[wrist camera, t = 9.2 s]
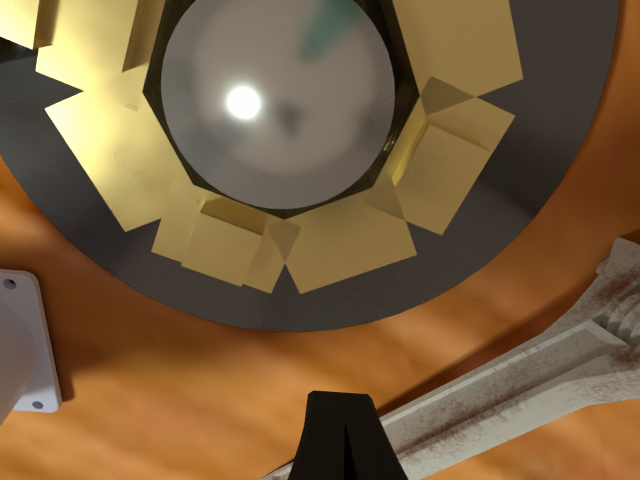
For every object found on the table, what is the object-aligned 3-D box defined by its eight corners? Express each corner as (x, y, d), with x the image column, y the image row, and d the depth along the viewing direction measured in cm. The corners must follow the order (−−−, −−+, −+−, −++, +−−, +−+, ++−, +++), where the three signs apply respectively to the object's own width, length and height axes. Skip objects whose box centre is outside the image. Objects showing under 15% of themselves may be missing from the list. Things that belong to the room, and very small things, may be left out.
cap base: (24, 305, 21) (-54, 388, 17) (-149, -469, 11) (-460, -779, 7) (504, 342, 22) (551, 429, 18) (743, -325, 12) (986, -506, 8)
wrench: (243, 448, 30) (773, 141, 17) (265, 462, 31) (791, 175, 18) (209, 597, 23) (1035, 268, 11) (237, 611, 24) (1049, 315, 11)
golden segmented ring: (372, 287, 20) (386, 354, 16) (-56, 129, 17) (-162, 167, 13) (559, -37, 15) (643, -48, 11) (-20, -361, 11) (-184, -536, 8)
